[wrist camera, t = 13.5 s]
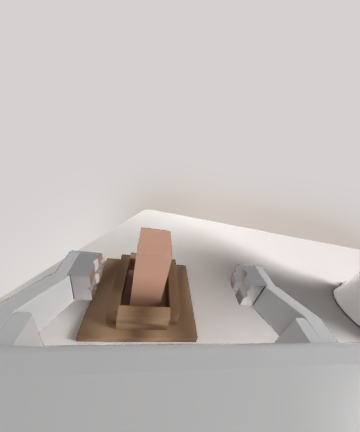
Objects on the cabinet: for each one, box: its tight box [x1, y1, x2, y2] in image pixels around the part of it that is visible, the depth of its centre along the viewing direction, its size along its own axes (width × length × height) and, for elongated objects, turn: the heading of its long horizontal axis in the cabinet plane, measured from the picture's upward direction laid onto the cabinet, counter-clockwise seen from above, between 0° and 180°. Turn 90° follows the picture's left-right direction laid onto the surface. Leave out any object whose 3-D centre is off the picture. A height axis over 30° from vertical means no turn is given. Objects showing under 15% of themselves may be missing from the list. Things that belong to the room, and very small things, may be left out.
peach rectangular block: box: [130, 227, 172, 307], centre depth 26 cm, size 4×6×11 cm
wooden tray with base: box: [76, 253, 197, 342], centre depth 28 cm, size 16×14×4 cm
